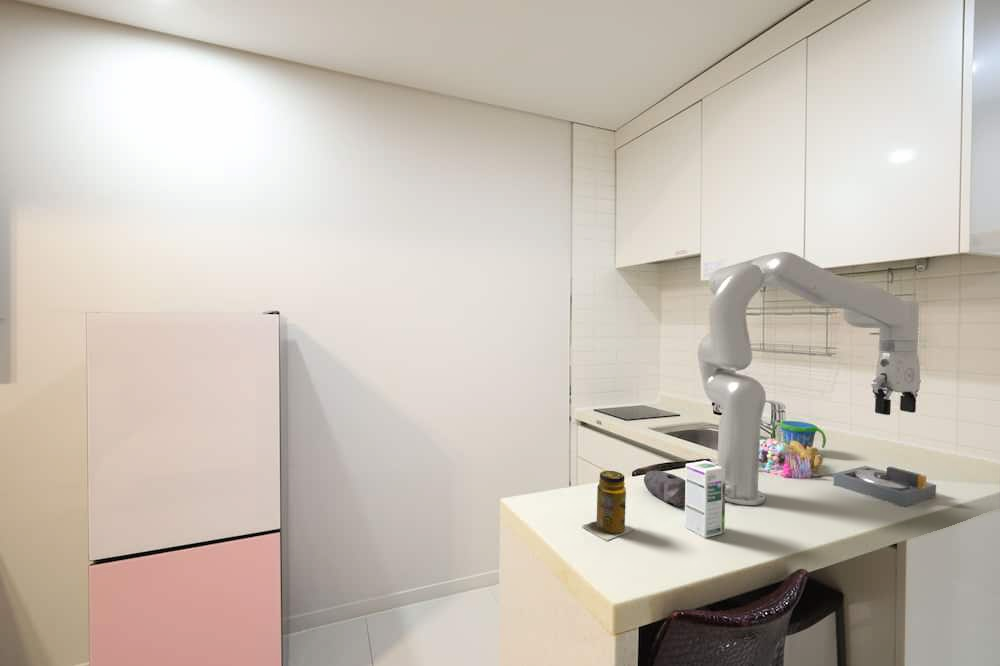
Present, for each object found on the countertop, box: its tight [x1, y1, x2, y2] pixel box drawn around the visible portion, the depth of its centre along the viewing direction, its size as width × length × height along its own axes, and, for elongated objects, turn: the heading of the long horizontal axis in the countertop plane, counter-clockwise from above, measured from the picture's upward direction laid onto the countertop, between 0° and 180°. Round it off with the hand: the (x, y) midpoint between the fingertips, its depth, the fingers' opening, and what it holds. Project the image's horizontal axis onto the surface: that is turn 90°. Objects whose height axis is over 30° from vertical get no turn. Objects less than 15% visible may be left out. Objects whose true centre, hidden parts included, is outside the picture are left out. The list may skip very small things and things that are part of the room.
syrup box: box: [684, 460, 726, 539], centre depth 97 cm, size 6×6×14 cm
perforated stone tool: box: [643, 470, 686, 507], centre depth 114 cm, size 15×5×7 cm, turn 22°
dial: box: [855, 466, 927, 491], centre depth 121 cm, size 15×12×5 cm
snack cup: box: [771, 420, 827, 449], centre depth 155 cm, size 16×10×10 cm
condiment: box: [581, 470, 634, 542], centre depth 97 cm, size 7×8×12 cm
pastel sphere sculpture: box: [759, 437, 824, 480], centre depth 141 cm, size 25×24×9 cm
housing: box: [833, 465, 937, 508], centre depth 122 cm, size 16×16×3 cm
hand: (895, 412), depth 117 cm, fingers open, 9 cm apart
